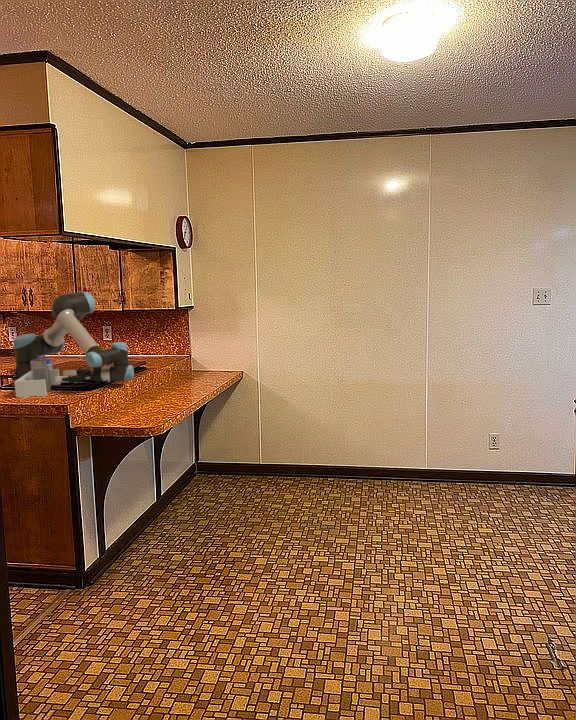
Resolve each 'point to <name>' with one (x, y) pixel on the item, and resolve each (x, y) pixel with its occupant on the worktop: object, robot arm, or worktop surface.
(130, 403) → the worktop surface
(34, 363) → the ink cartridge box
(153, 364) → the worktop surface
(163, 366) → the worktop surface
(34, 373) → the dark grey block
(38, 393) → the open side box
